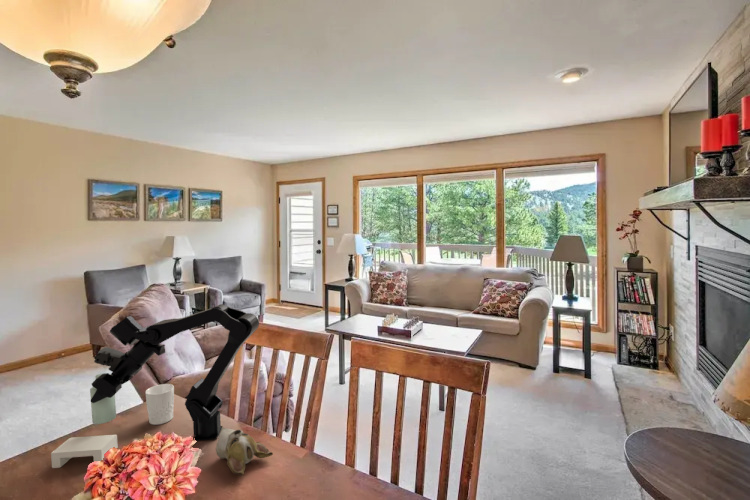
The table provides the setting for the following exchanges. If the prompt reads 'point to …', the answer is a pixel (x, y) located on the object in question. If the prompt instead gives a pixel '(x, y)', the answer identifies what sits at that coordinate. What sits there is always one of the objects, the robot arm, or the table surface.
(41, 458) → the table surface
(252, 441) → the ceramic sculpture
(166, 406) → the white cup
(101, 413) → the sage spray can
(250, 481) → the table surface
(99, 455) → the shelf
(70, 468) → the table surface
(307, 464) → the table surface
